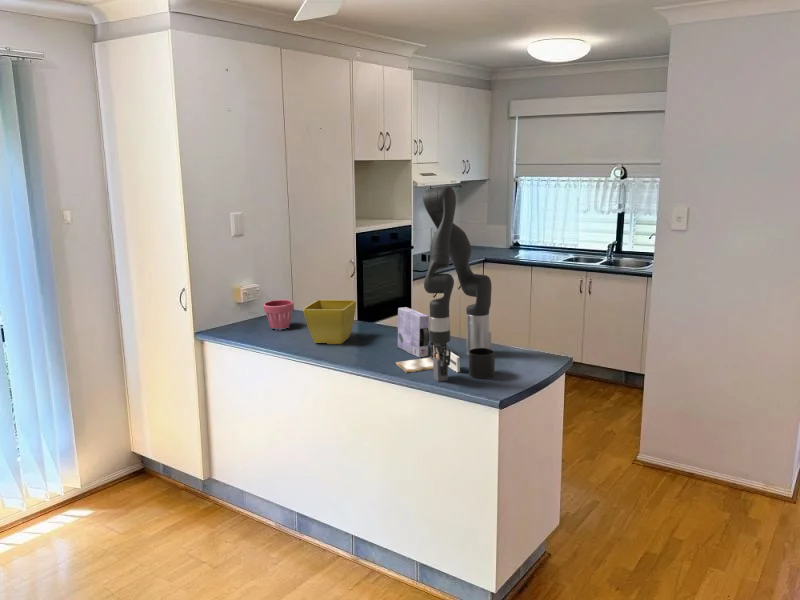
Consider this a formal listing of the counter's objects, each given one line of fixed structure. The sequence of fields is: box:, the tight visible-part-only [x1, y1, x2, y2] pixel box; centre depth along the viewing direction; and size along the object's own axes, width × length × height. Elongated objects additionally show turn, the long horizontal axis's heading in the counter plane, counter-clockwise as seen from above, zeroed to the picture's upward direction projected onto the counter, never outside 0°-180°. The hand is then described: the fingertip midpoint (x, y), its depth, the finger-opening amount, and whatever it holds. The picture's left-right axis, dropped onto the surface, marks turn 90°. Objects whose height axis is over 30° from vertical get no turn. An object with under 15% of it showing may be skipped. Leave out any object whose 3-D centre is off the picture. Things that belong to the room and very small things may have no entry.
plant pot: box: [263, 299, 295, 329], centre depth 318 cm, size 14×14×13 cm
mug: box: [468, 348, 496, 380], centre depth 242 cm, size 9×12×9 cm
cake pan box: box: [397, 306, 430, 359], centre depth 271 cm, size 19×5×18 cm, turn 30°
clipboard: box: [395, 355, 433, 374], centre depth 254 cm, size 16×12×2 cm
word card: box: [448, 351, 461, 374], centre depth 248 cm, size 1×8×6 cm, turn 19°
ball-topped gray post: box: [432, 354, 449, 383], centre depth 237 cm, size 4×4×10 cm
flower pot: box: [302, 299, 357, 345], centre depth 292 cm, size 19×19×17 cm
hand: (440, 372), depth 238 cm, fingers open, 5 cm apart
